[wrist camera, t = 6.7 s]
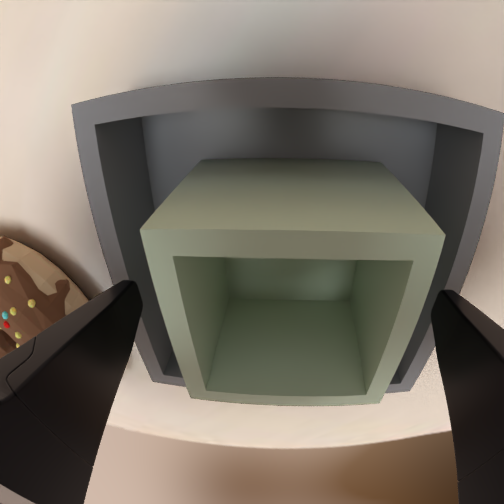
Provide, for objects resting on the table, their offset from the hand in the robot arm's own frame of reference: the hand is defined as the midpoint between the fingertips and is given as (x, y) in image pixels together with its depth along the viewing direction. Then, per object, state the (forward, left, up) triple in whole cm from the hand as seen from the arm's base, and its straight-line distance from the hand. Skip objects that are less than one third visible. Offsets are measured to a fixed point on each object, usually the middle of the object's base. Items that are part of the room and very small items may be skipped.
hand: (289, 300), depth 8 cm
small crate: (0, 0, -3) cm, 3 cm away
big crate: (0, 0, -4) cm, 4 cm away
